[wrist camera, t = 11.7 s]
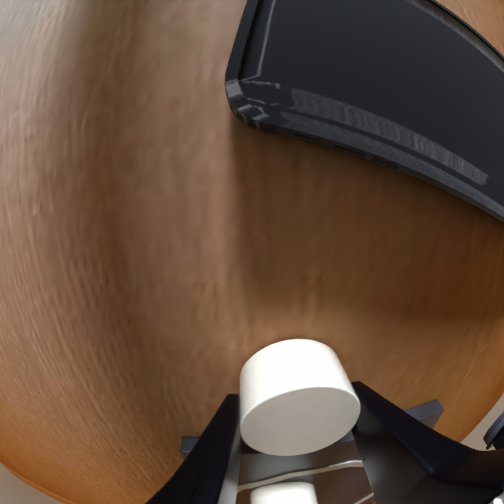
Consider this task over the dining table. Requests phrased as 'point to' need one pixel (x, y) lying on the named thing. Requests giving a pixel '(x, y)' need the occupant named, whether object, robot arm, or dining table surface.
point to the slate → (316, 466)
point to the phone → (377, 87)
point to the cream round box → (295, 398)
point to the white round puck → (285, 494)
